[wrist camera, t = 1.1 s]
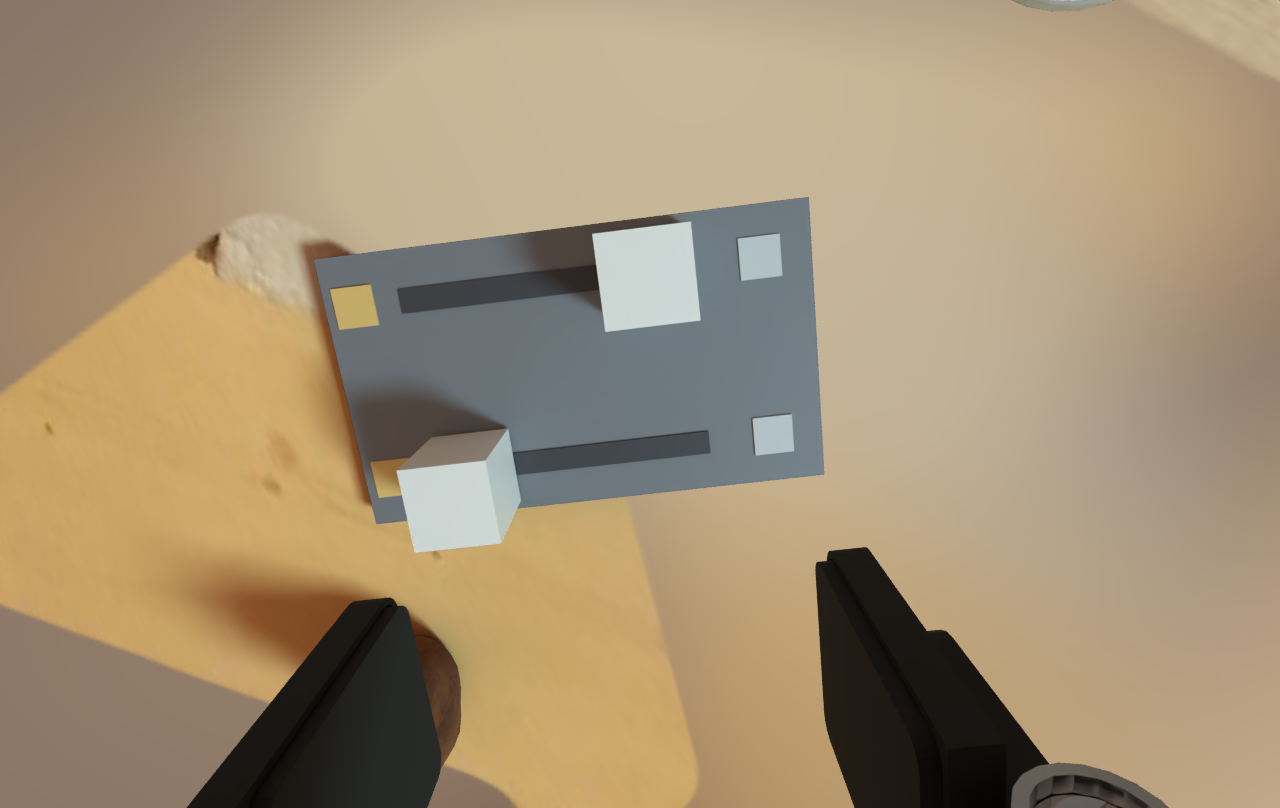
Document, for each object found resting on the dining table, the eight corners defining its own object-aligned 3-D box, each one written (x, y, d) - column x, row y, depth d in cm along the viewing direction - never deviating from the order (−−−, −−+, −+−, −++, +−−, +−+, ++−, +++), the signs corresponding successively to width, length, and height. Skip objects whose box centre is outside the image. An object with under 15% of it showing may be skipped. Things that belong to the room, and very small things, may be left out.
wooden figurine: (358, 628, 39) (186, 863, 24) (451, 607, 38) (334, 834, 24) (395, 723, 40) (255, 998, 26) (485, 704, 40) (395, 972, 25)
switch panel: (801, 198, 33) (809, 196, 31) (817, 464, 36) (824, 475, 35) (327, 258, 34) (312, 259, 32) (386, 512, 37) (375, 524, 35)
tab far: (508, 428, 34) (485, 460, 29) (521, 500, 35) (501, 543, 30) (431, 437, 34) (396, 470, 29) (446, 509, 35) (414, 552, 30)
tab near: (683, 223, 31) (690, 221, 26) (692, 307, 32) (700, 320, 27) (600, 234, 31) (592, 233, 27) (611, 317, 32) (605, 332, 28)
